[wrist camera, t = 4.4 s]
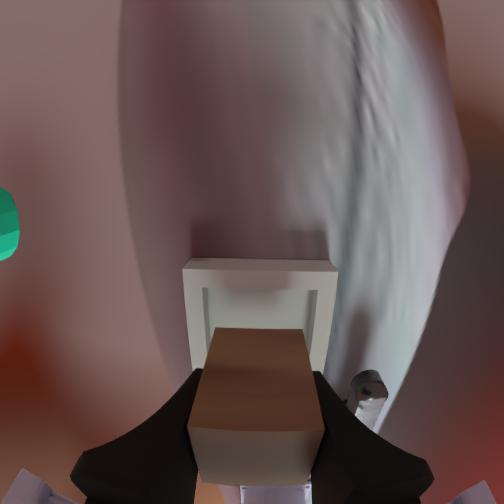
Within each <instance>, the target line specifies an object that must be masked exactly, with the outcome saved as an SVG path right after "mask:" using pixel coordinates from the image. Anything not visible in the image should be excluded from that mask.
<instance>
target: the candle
mask: <svg viewBox="0 0 504 504" xmlns="http://www.w3.org/2000/svg"><path fill="white" fill-rule="evenodd" d="M19 231H20V227H19V219H18V211H17V208H16V206H15V204H14V201H13V199H12V196H11V194H10V193H8V192H7V191H6V190H4V189H3V188H2V187H1V188H0V261H1V260H3V259H5V258H8V257H10V256H11V255H12V254H13V252H14V251H15V249H16V248H17V246H18V238H19Z"/></svg>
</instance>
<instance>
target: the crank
mask: <svg viewBox="0 0 504 504" xmlns="http://www.w3.org/2000/svg"><path fill="white" fill-rule="evenodd" d="M387 398H388V391H387V389H386V387H385V385H384V383H383V381H382V379H381V377H380V375H379V373H378V372H377V371H375V370H366V371H363V372H361V373H359V374H358V375H356V376H355V377H354V379H353V380H352V382H351V391H350V394H349V397H348V401H347V404H346V406H347V407H348V409H349V410H350V411H351V412H352V413H353V414H354V415H355V416H356V417H357V418H358V419H359V420H360V421H361V422H362V423H364V424H365V425H366V426H367V427H368V428H369V429H371V430H372V429H373V427H374V425H375V423H376V421H377V418H378V416H379V414H380V412H381V409H382V407H383V404H384V402H385V401H386V400H387Z"/></svg>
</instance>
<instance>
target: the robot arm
mask: <svg viewBox="0 0 504 504" xmlns="http://www.w3.org/2000/svg"><path fill="white" fill-rule="evenodd" d="M202 371H203V368H196V369H195V370H194V371H193V372H192V374H191V375H190V376H189V378H188V379H187V380H186V381H185V383H184V384H183V385H182V386H181V387H180V388H179V390H178V391H177V392H176V393H175V394H174V395H173V396H172V397H171V398H170V399H169V400H168V401H167V402H166V403H165V404H164V405H163V406H162V407H161V408H160V409H159V410H158V411H157V412H156V413H154V414H153V415H152V416H151V417H150V418H148V419H147V420H146V421H144V422H143V423H142V424H140V425H139V426H137V427H136V428H134V429H133V430H131V431H130V432H128V433H126V434H125V435H123V436H121V437H119V438H117V439H115V440H113V441H111V442H108V443H106V444H104V445H101V446H99V447H96V448H93V449H90V450H87V451H84V452H83V453H82V455H81V456H80V457H79V459H78V461H77V463H76V465H75V466H74V469H73V470H72V472H71V474H70V477H71V480H72V481H73V483H74V484H75V485H76V486H77V487H78V488H79V489H80V490H81V491H82V492H83V493H84V494H85V495H86V496H87V499H86V501H85V504H194V497H195V489H196V481H197V474H198V466H197V463H196V459H195V456H194V452H193V448H192V444H191V440H190V436H189V432H188V428H187V424H188V421H189V417H190V414H191V410H192V406H193V403H194V399H195V396H196V392H197V389H198V385H199V382H200V378H201V375H202ZM312 372H313V377H314V381H315V386H316V390H317V395H318V399H319V404H320V409H321V413H322V418H323V423H324V428H325V430H324V434H323V437H322V440H321V443H320V446H319V449H318V452H317V455H316V458H315V461H314V464H313V467H312V469H311V481H307V483H306V485H297V486H240V493H241V504H306V499H307V496H308V494H309V492H310V490H311V488H312V504H421V501H420V499H419V497H420V496H421V495H422V494H423V493H424V492H425V491H426V490H427V489H428V488H429V486H430V485H431V484H432V483H433V481H434V477H433V474H432V472H431V469H430V467H429V465H428V464H427V462H426V460H424V459H422V458H419V457H417V456H414V455H412V454H410V453H407V452H405V451H403V450H401V449H400V448H398V447H396V446H393V445H392V444H391V443H389V442H388V441H386V440H384V439H383V438H381V437H380V436H379V435H377V434H376V433H374V432H373V431H372V430H371V429H369V428H368V427H367V426H366V425H365V424H364V423H362V422H361V421H360V420H359V419H358V418H357V417H356V416H355V415H354V414H353V413H352V412H351V411H350V410H349V409H348V407H347V406H346V405H345V404H344V403H343V402H342V400H341V399H340V398H339V397H338V396H337V394H336V393H335V392H334V390H333V389H332V388H331V386H330V385H329V384H328V382H327V381H326V379H325V378H324V376H323V375H322V373H321V372H320V371H312ZM2 504H80V503H78V502H76V501H73V500H71V499H69V498H67V497H65V496H63V495H61V494H59V493H57V492H55V491H54V490H52V489H51V487H50V486H49V485H48V484H47V483H45V482H44V481H43V480H41V479H40V478H38V477H37V476H35V475H33V474H31V473H30V472H28V471H27V470H25V469H21V471H20V472H19V474H18V476H17V477H16V479H15V480H14V482H13V484H12V486H11V487H10V489H9V490H8V492H7V494H6V496H5V497H4V499H3V501H2ZM447 504H496V502H495V500H494V498H493V496H492V494H491V492H490V490H489V488H488V486H487V484H486V482H485V481H482V482H480V483H478V484H476V485H474V486H472V487H471V488H469V489H467V490H465V491H464V492H462V493H461V494H459V495H458V496H457V497H456V498H455V499H454V500H453V501H451V502H449V503H447Z"/></svg>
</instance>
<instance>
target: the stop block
mask: <svg viewBox="0 0 504 504" xmlns="http://www.w3.org/2000/svg"><path fill="white" fill-rule="evenodd" d="M187 428H188V432H189V436H190V440H191V444H192V448H193V452H194V456H195V459H196V463H197V466H198V470H199V473H200V476H201V480H202V482H204V483H213V484H223V485H237V486H297V485H306V483H307V480H308V477H309V475H310V472H311V469H312V467H313V464H314V461H315V458H316V455H317V452H318V449H319V446H320V443H321V440H322V437H323V434H324V430H325V428H324V423H323V418H322V413H321V409H320V404H319V399H318V395H317V390H316V386H315V381H314V377H313V372H312V368H311V363H310V359H309V355H308V350H307V346H306V342H305V337H304V333H303V329H254V328H225V327H215V330H214V333H213V337H212V340H211V344H210V347H209V351H208V354H207V357H206V361H205V364H204V368H203V371H202V375H201V378H200V382H199V385H198V389H197V392H196V396H195V399H194V403H193V406H192V410H191V414H190V417H189V421H188V424H187Z"/></svg>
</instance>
